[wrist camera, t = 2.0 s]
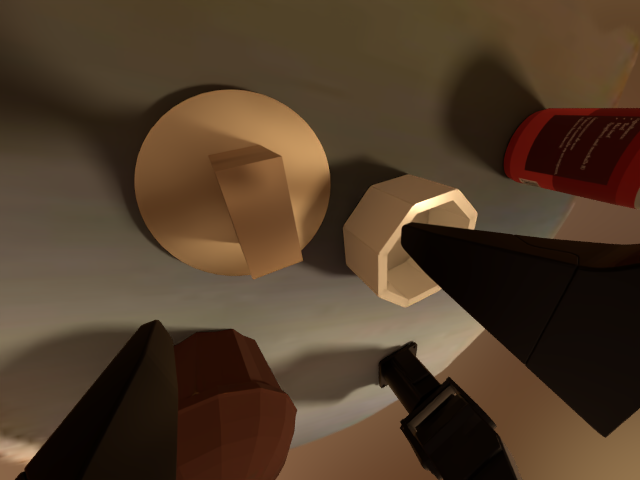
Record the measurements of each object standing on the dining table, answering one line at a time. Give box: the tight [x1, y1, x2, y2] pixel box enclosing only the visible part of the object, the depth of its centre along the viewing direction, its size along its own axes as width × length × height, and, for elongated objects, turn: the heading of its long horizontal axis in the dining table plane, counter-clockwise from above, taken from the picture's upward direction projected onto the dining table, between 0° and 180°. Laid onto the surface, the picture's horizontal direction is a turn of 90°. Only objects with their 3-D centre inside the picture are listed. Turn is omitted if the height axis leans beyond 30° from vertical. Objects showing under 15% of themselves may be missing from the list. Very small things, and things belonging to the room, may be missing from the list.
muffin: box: [174, 329, 297, 480], centre depth 18 cm, size 12×11×10 cm
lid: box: [134, 90, 331, 279], centre depth 15 cm, size 12×12×6 cm
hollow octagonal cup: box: [343, 174, 478, 307], centre depth 22 cm, size 10×10×5 cm
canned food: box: [504, 108, 640, 209], centre depth 23 cm, size 8×8×11 cm
